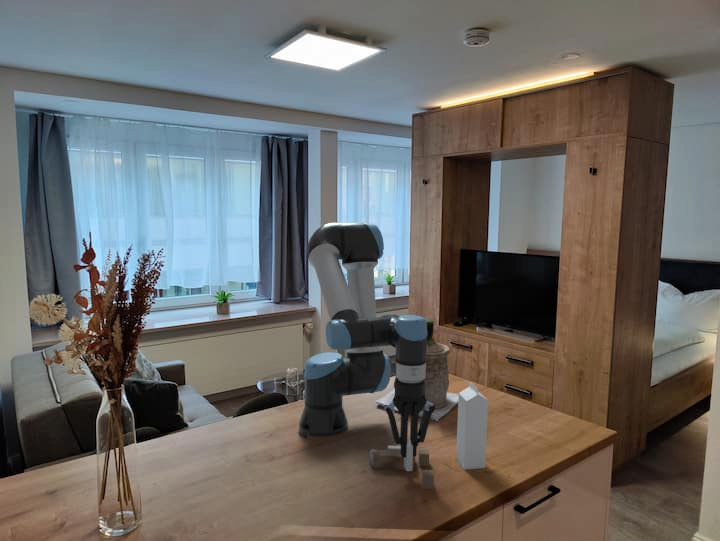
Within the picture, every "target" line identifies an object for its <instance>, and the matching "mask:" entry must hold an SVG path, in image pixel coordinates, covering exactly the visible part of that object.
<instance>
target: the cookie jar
mask: <svg viewBox="0 0 720 541" xmlns="http://www.w3.org/2000/svg"><path fill="white" fill-rule="evenodd" d="M425 319H426V322H427V348H426V377H425V378H424V380H425V397H426V399H427V401H428V402H431V403H432V404H433V405H434V406H435V410H434V411H433V413H432V414H431V417H430V420H433V421H435V422H437V421H438V422H439V419H441V418H443V416H445V415H447V414H448V413H449V412H450V411H451V410H452V408H454V407H455V406H456V405H458V398H459V393H453V392H448V391H449V388H450V387H449V386H450V380H449V376H450V372H449V365H448V356H449V354H450V351H451V350H450V348H449V346H448V345H446V344H442V343H439V342H437V341H435V340H434V339H435V338H433V336H434V323H435V322H434V321H433V320H431V319H427V318H425ZM390 364H391V370H392V371H393V373H394V374H395V364H396V361H395V360H394V361H391V362H390ZM395 379H396V376H395ZM395 379H394V380H395ZM393 388H394V389H392V390H391V391H390V392H388V393H387V394H386V395H384V396H383V397H381V398H378V399H376V400H375V403H376V404H377V405H380V406H381V407H383V408H384V405H389V404H390V403H392V402H393V398H394V396H395V381H394V382H393ZM394 409H395V411H396V412H399V411H398V409H397V408H396V407H395V408H394ZM423 412H424V407H423V408H422V410H421V411H420V412H419V417H421V418H422V415H423Z"/></svg>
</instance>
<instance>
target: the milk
mask: <svg viewBox="0 0 720 541" xmlns="http://www.w3.org/2000/svg"><path fill="white" fill-rule="evenodd" d="M458 394H459V398H458V403H457V405H458V406H457V425H456V426H457V428H456V429H457V430H456V433H457V434H456V451H455V452H456V454H455V456H456V457H455V458H456V461H458V463H459V464H460V466H461V467H462V469H463V470H474V469H475V470H477V469H485V468H486V458H487V457H486V455H487V434H488V416H489V414H488V413H489V411H488V410H489V399H487V397H485V396H484V394H482V393H481V392H480V391H479V388H478V386H477V387H476V386H475V384H473V383H472V382H471V381H469V383H468V387H466V388H464V389H463V390H461V391H459V392H458Z"/></svg>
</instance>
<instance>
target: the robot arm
mask: <svg viewBox="0 0 720 541" xmlns="http://www.w3.org/2000/svg"><path fill="white" fill-rule="evenodd" d="M306 248H307V250H306V252H307V259H308V262H309V264H310V265H311V267H313V268H314V271H315V273H316V274H315V275H316V277H317V280H318V284H319V287H320V290H321V293H322V296H323V300H324V303H325V306H326V307H325V308H326V309H327V313H328V314H327V315H328V316H329V321H327V323H326V325H325V338H326V344H327V346H328V348H329V349H330V350H334V351H335V350H339V351H340V350H341V351H342V350H343V351H346V357H345V356H343V355H342V354H341V353H339V352H336V351H335V352H330V351H329V352H322V353H318V354H315V355H313V356H311V357H309V358H308V359H307V360H306V362H305V363H304V364H305V365H304V373H303V377H304V407H303V409H302V410H303V411H302V414H301V416H300V419H299V424H298V432H299V434H300V435H301V436H303V437H305V438H307V437H308V435H309V436H313V437H332V436H337V435H339V434H342V433H343V432H345V431H346V430H347V429H348V427H349V423H348V422H349V421H348V418H347V415H346V412H345V409H344V405H343V397H344V396H345V397H346V396H353V395H361V394H362V395H363V394H374V393H378V392H379V393H380V392H383V391H384V390H385V389H387V387H388V385H389V384H390V380H391V375H392V368H391V362H390V357H389V356H388V355H387V354H386V353H384V348H382V347H387V346H389V347H390V346H391V347H393V348H395V358H394V359H395V360H394V362H396V364H395V373H394V376H395V377H396V379H394V382H395V388H394V389H395V396H394V398H393V402H392V403H390V404H389V405H384V407H383V408H384V411H385V413H386V414H387V416H388V419H389V425H390V429H391V433H392V438H393V440H394V442H395V444H396V445H399V446H401V450H400V453H401V456H402V458H404V467H405V469H406V470H405V471H406V472H413V470H412V465H413V457H415V458H416V457H417V453H418V452H417V449H418V448H417V447H418V446H419V444H420V443H424V442H425V439H426V436H427V432H428V428H429V425H430V420H431V419H430V417H431V414H432V413H433V411H434V410H435V406H434V405H433V404H432V403H431V402H428V401H427V399H426V397H425V380H424V378H425V377H426V348H427V322H426V319H427V318H426V317H424V316H419V315H416V314H406V315H405V314H404V315H400V316H399V315H397V314H394V313H385V314H383V315H381V316H380V317H377V304H376V303H377V302H376V290H375V287H376V286H375V272H374V270H375V268H376V267H377V265H378V264H379V262H378V261H379V259H381V258H382V257H383V256H384V249H385V246H384V238H383V234H382V232H381V230H380V228H379V227H378V226H377V225H376V224H374V223H367V222H366V223H365V222H329V223H325V224H323V225H321V226H320V227H318V228H317V229H316V230H315V231H314V232H313V233H312V235H311V236H310V239H309V240H308V243H307V247H306ZM340 260H341V262H340ZM342 267H343V268H344V269H345V270H346V272H347V273H346V275H347V279H346V277H345V274H344V271H343V268H342ZM395 407H396V408H397V409H398V411H397V412H399V413H400V414H399V415H400V432H399V428H398V426H397V420H396V417H395V414H394V413H395V409H394V408H395ZM423 407H424V412H423V415H422V417H421V421H420V423H419V417H420V416H419V412H420V411H421V410H422V408H423ZM409 416H410V422H409ZM408 423H409V424H410V426H408V425H409V424H408ZM409 427H410V431H409V430H408V428H409ZM408 431H409V439H410V440H408ZM399 433H400V434H399Z"/></svg>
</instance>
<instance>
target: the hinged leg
mask: <svg viewBox="0 0 720 541" xmlns="http://www.w3.org/2000/svg"><path fill="white" fill-rule="evenodd" d="M369 456H370V457H369V466H370V467H371V468H374V469H386V470H399V471H400V470H402V471H406V469H405V467H404V458H402V456H401V453H400V451H390V450H388V449H377V448H372V449H370V450H369ZM413 471H414V472H415V471H416V457H413V465H412V472H413Z"/></svg>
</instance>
